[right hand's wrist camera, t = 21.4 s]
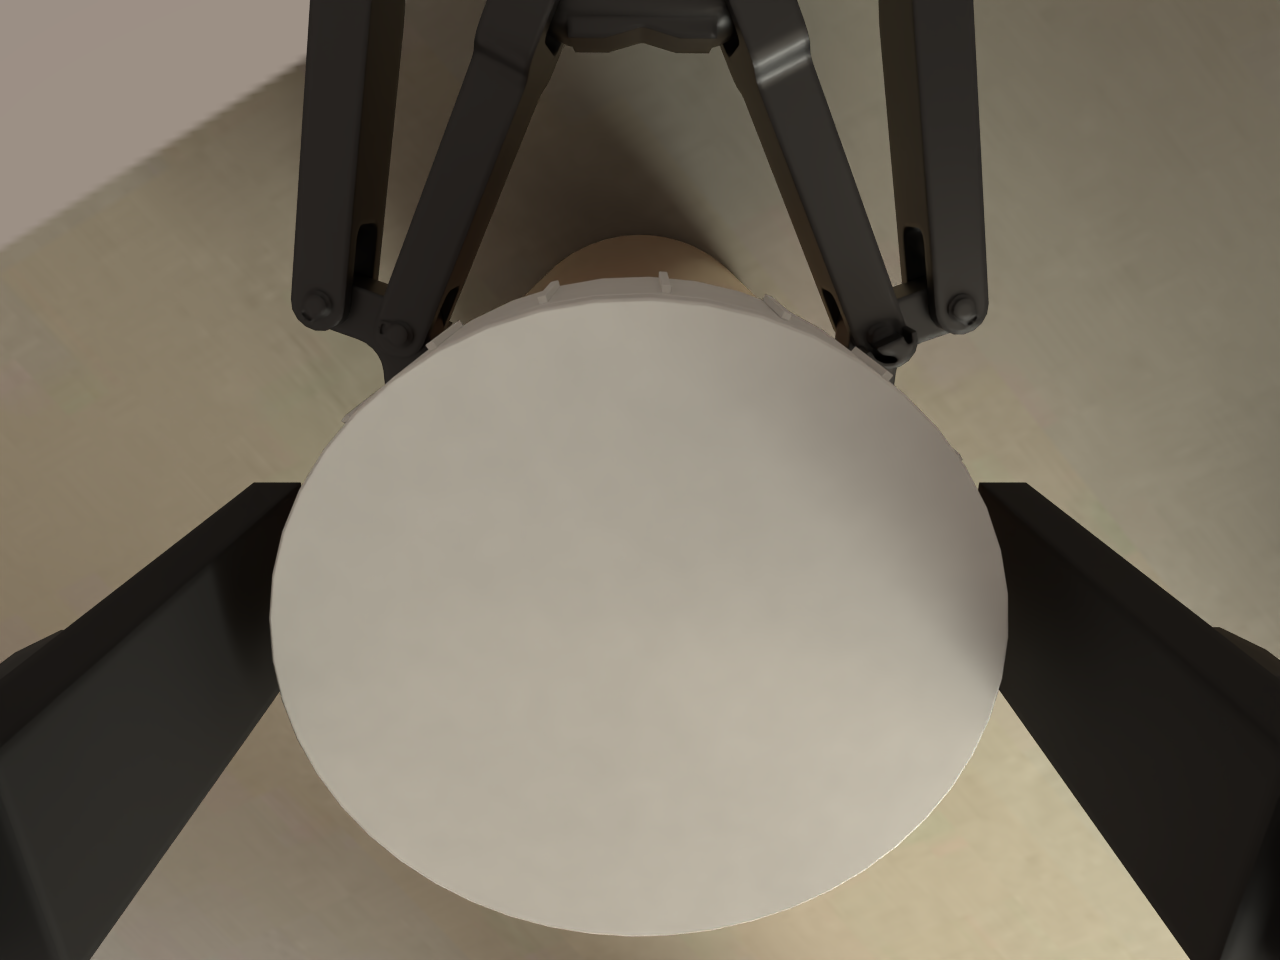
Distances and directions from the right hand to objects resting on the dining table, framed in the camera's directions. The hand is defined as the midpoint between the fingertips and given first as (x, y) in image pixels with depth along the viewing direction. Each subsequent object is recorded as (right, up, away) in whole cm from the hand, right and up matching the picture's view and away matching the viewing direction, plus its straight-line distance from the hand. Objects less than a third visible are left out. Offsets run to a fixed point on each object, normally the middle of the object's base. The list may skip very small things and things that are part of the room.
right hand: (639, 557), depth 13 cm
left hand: (0, -2, +9) cm, 9 cm away
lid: (0, -1, -3) cm, 3 cm away
